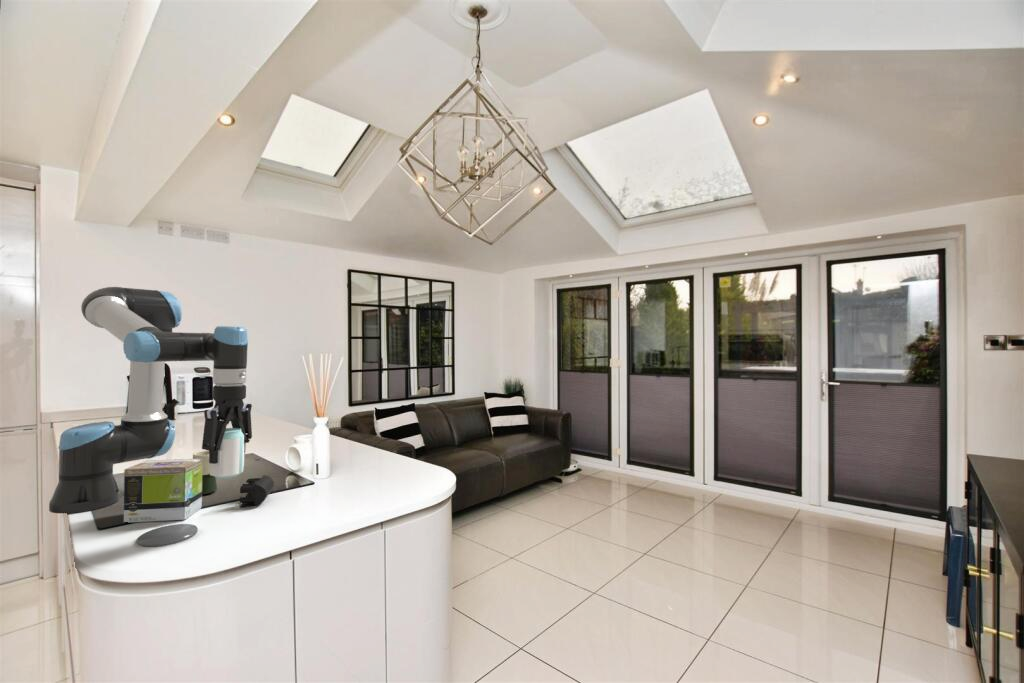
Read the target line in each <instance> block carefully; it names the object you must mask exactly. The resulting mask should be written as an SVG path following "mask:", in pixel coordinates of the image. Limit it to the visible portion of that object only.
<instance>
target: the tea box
mask: <svg viewBox="0 0 1024 683" xmlns="http://www.w3.org/2000/svg"><path fill="white" fill-rule="evenodd" d="M123 477H124V479H123V523H124V522H128V523H144V522H145V523H146V522H164V521H184V520H186V519H188V518H189V517H191V516H192V515H194V514H195V513H197V512H198V511H199V510H201V509H202V506H203V505H202V504H203V494H202V459H193V458H186V459H185V458H183V459H182V458H180V459H175V458H174V459H151V460H150V459H149V460H147V459H146V460H145V461H142V462H140V463H137V464H134V465H133V466H129V467H127V468H125V469H124V474H123Z"/></svg>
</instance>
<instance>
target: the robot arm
mask: <svg viewBox="0 0 1024 683" xmlns="http://www.w3.org/2000/svg"><path fill="white" fill-rule="evenodd" d="M80 307H81V313H82V316H83V317H84V319H85V320H87V322H88V323H90V324H91V325H93V326H94V327H97V328H101V329H104V330H106V332H109V333H110V334H111V335H112V336H114V337H115V338H116V339H118V340H119V341H121V342H122V343H123V346H122V347H123V352H124V355H125V358H126V359H127V360H128V361H130V365H129V380H128V381H129V383H128V384H129V385H128V397H127V398H128V399H127V400H128V401H127V413H125V414H124V415H123V416H122V417H121V418H120V424H118V425H115V423H114V422H112V421H99V422H90V423H89V422H88V423H85V424H81V425H80V424H79V425H77V426H72V427H70V428H67V429H65V430H64V431H62V433H61V434H60V437H59V445H58V450H59V451H58V454H59V455H58V482H57V485H56V487H55V489H54V492H53V494H52V497H51V499H50V501H49V503H48V506H49V507H48V510H49V512H50V513H53V514H75V513H82V512H88V511H94V510H97V509H102V508H104V507H108V506H111V505H114V504H115V503H117V502H119V501H120V500H121V498H120V497H121V491H120V489H119V487H118V486H119V485H118V484H117V481H116V479H115V477H114V476H115V475H114V465H116V464H122V463H123V464H124V463H129V462H134V461H140V460H145V459H146V460H147V459H149V460H150V459H153V458H156V457H160V456H163V455H165V454H167V453H168V452H169V451H170V450H171V448H172V447H173V445H174V443H175V437H176V429H175V423H174V422H173V421H172V420H171V419H168V414H166V413H165V412H164V411H163V403H164V402H163V399H164V381H165V368H166V366H165V363H166V362H199V361H200V362H201V361H202V362H203V361H205V362H206V361H210V362H213V367H212V368H213V369H212V370H213V371H212V383H213V384H214V385H213V387H212V400H214V401H215V404H214V406H213V408H212V409H206V410H204V411H203V414H204V426H203V437H202V444H201V449H202V450H203V451H207V450H209V463H210V475H211V476H221V475H222V450H219V449H220V446H221V443H222V439H223V436H224V433H225V429H226V428H227V426H228V425H229V424H231V428H240V429H241V432H242V433H243V434H244V455H245V454H246V446H247V445H246V444H249V442H250V440H251V439H252V438H253V432H252V429H253V427H252V412H251V411H252V407H253V406H252V403H245V402H244V400H245V399H246V397H247V386H246V385H245V383H247V367H248V365H247V364H248V345H249V344H248V343H249V340H248V329H247V328H246V327H244V326H231V325H230V326H229V325H227V326H225V325H224V326H223V325H221V326H218V325H217V326H215V328H214V331H213V332H173V329H175V328H177V327H179V326H180V324H181V322H182V316H183V315H182V314H183V313H182V308H181V304H180V301H179V300H178V298H177V297H176V296H175V295H174V294H173V293H172V292H168V291H162V290H157V289H154V290H153V289H143V288H131V287H120V286H108V287H102V288H99V289H96V290H94V291H91V292H90V293H89V294H88V295H86V297H85V298H83V300H82V303H81V306H80ZM214 445H215V446H214ZM244 467H245V457H244V458H243V468H244Z"/></svg>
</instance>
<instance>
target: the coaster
mask: <svg viewBox="0 0 1024 683" xmlns="http://www.w3.org/2000/svg"><path fill="white" fill-rule="evenodd" d="M197 533H198V527H197V525H194V524H189V523H179V524H178V523H177V524H170V525H165V526H160V527H157V528H154V529H151V530H148V531H146V532H144V533H142V534H140V535H139V536H138V537H137V539H136V540H137V542H136V543H137V545H138V546H140V547H145V548H157V547H164V546H169V545H173V544H174V545H175V544H177V543H181V542H183V541H186V540H188V539H190V538H193V537H194V536H195V535H196V534H197Z"/></svg>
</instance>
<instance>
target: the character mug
mask: <svg viewBox="0 0 1024 683" xmlns="http://www.w3.org/2000/svg"><path fill="white" fill-rule="evenodd" d="M192 459H202V495H206V494H207V495H208V494H211V493H213V492H215V491H217V489H218V488H217V486H218V485H217V478H216V477H215V476H211V475H210V463H209V450H201V451H197V452H194V453H193V454H192Z"/></svg>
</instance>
